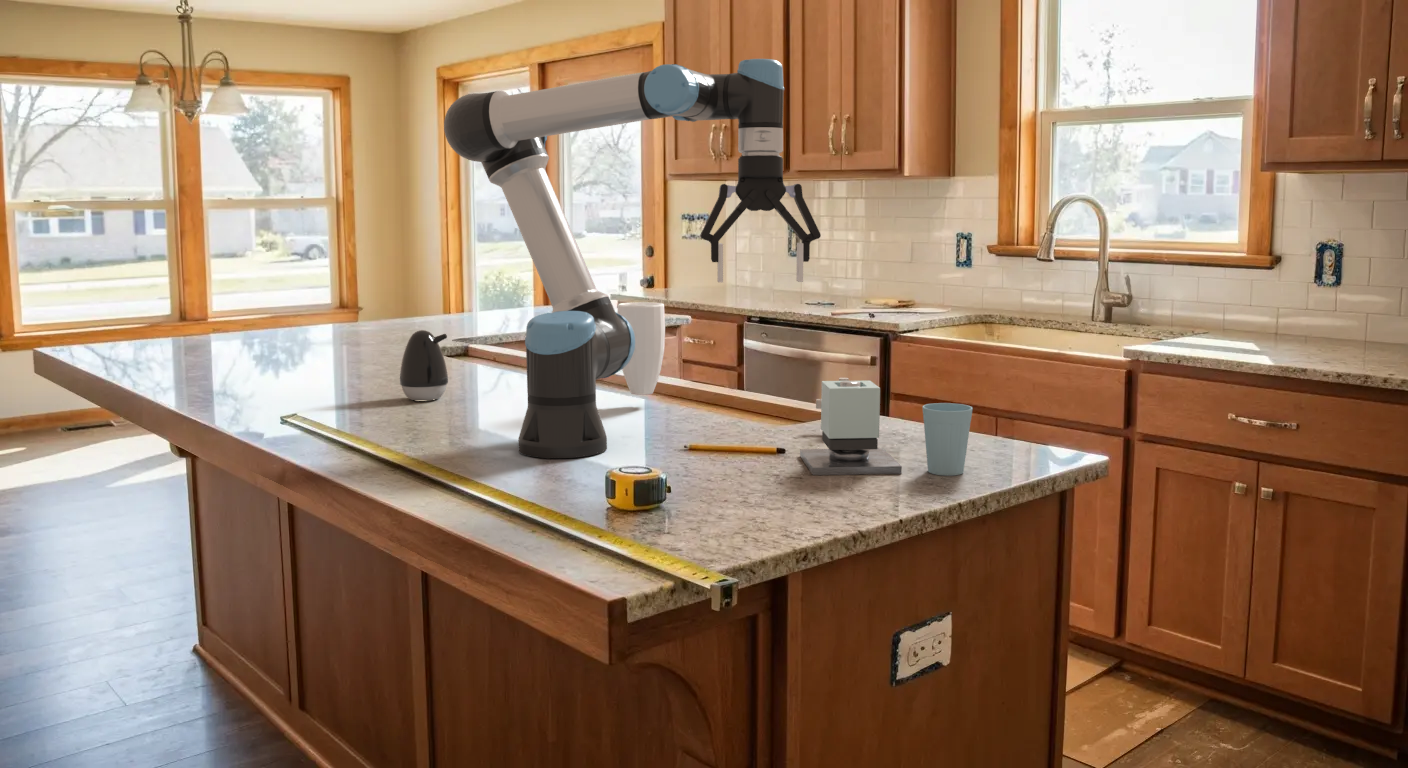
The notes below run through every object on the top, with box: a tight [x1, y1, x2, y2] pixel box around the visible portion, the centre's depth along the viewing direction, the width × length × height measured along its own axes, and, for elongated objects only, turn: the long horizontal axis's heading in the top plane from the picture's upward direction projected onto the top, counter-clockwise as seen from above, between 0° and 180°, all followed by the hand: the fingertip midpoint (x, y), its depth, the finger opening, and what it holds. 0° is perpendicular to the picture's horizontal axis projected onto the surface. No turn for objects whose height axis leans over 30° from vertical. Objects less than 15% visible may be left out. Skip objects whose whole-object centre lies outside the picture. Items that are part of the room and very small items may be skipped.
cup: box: [922, 402, 973, 477], centre depth 185 cm, size 8×8×10 cm
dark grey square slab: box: [821, 430, 879, 450], centre depth 191 cm, size 8×8×2 cm
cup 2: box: [617, 301, 666, 396], centre depth 245 cm, size 10×10×22 cm
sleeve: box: [820, 380, 881, 439], centre depth 190 cm, size 8×8×8 cm
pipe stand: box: [799, 380, 903, 476], centre depth 190 cm, size 14×14×14 cm
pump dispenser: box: [399, 329, 449, 401], centre depth 255 cm, size 10×10×15 cm
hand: (760, 281), depth 201 cm, fingers open, 13 cm apart
